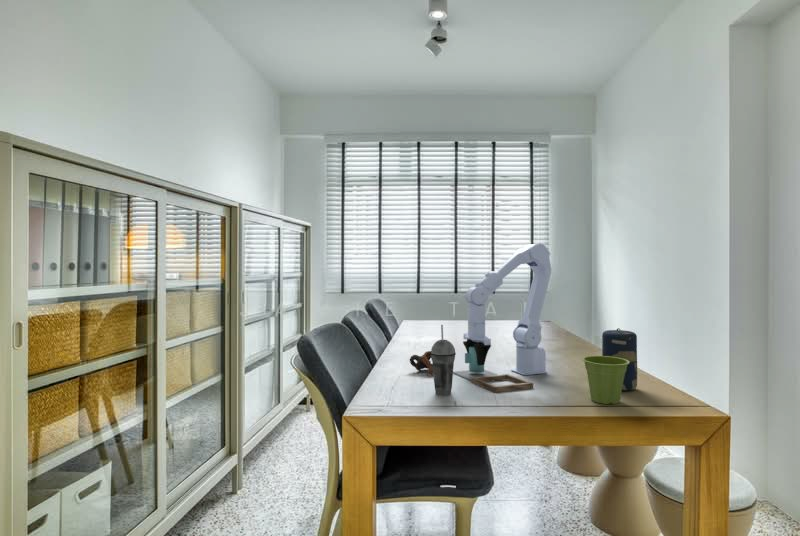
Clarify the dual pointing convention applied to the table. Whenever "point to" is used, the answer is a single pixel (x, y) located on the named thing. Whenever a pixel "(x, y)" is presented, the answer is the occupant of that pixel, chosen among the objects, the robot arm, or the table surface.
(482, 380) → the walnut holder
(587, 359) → the plant pot
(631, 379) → the canister
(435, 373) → the beverage cup
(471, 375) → the gray mat
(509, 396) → the table surface
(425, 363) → the brown looped knot
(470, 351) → the teal jug
